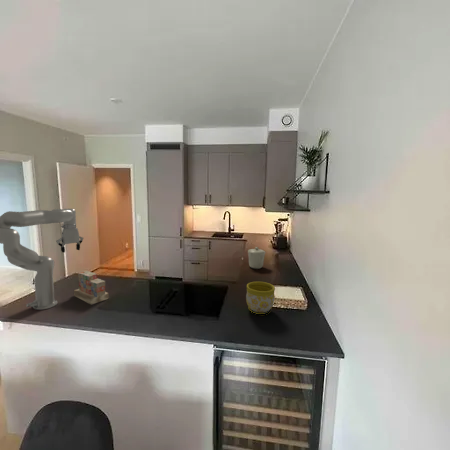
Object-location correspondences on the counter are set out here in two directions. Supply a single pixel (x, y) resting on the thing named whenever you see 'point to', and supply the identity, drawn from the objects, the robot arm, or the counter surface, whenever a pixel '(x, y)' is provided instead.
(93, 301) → the birch plinth
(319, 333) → the counter surface
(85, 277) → the stack of blocks
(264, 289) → the flowerpot
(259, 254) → the canister
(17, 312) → the counter surface
